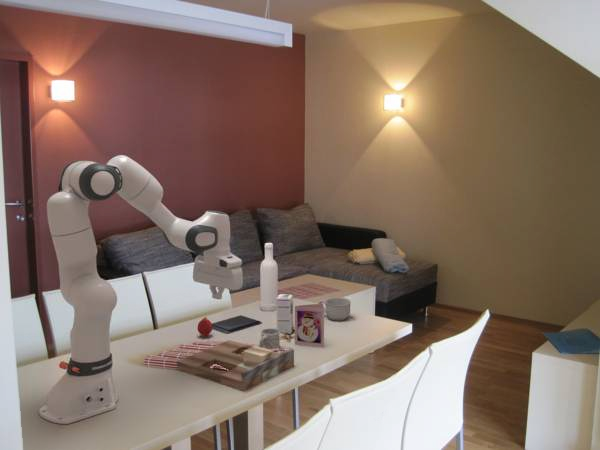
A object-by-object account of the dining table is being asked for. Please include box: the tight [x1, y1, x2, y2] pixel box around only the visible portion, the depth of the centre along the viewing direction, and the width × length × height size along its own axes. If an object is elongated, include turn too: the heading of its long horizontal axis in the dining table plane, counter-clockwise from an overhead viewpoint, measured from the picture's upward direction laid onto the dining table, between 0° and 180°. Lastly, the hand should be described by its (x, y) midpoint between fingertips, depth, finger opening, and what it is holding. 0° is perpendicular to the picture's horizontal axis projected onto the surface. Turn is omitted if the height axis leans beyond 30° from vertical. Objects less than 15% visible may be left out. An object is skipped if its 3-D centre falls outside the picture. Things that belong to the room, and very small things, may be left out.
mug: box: [259, 328, 280, 349], centre depth 233 cm, size 10×7×7 cm, turn 149°
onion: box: [197, 316, 213, 338], centre depth 247 cm, size 6×6×8 cm
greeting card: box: [294, 302, 325, 348], centre depth 239 cm, size 11×7×15 cm, turn 73°
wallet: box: [211, 314, 263, 335], centre depth 262 cm, size 20×2×15 cm
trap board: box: [176, 339, 295, 392], centre depth 216 cm, size 26×30×6 cm
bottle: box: [259, 242, 279, 312], centre depth 282 cm, size 8×8×30 cm
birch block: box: [242, 345, 275, 367], centre depth 210 cm, size 6×8×5 cm
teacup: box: [318, 296, 352, 322], centre depth 271 cm, size 14×11×8 cm
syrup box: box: [276, 293, 294, 334], centre depth 253 cm, size 6×6×14 cm
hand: (217, 298), depth 214 cm, fingers closed
